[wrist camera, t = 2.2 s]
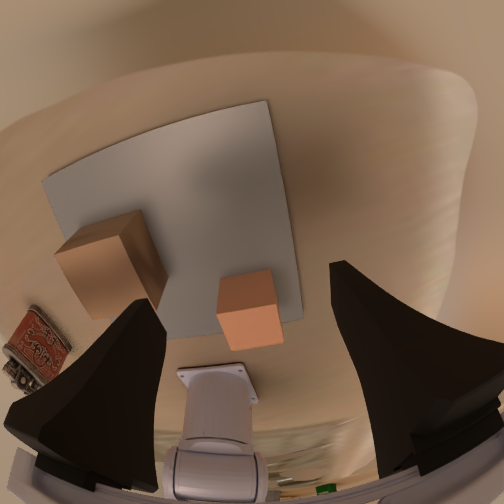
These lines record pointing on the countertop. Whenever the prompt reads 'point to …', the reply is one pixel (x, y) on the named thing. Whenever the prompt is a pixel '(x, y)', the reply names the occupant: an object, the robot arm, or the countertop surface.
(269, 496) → the coffeepot
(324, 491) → the milk carton
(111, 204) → the baseplate
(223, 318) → the top brick
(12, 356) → the lighter
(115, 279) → the base brick
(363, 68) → the countertop surface
